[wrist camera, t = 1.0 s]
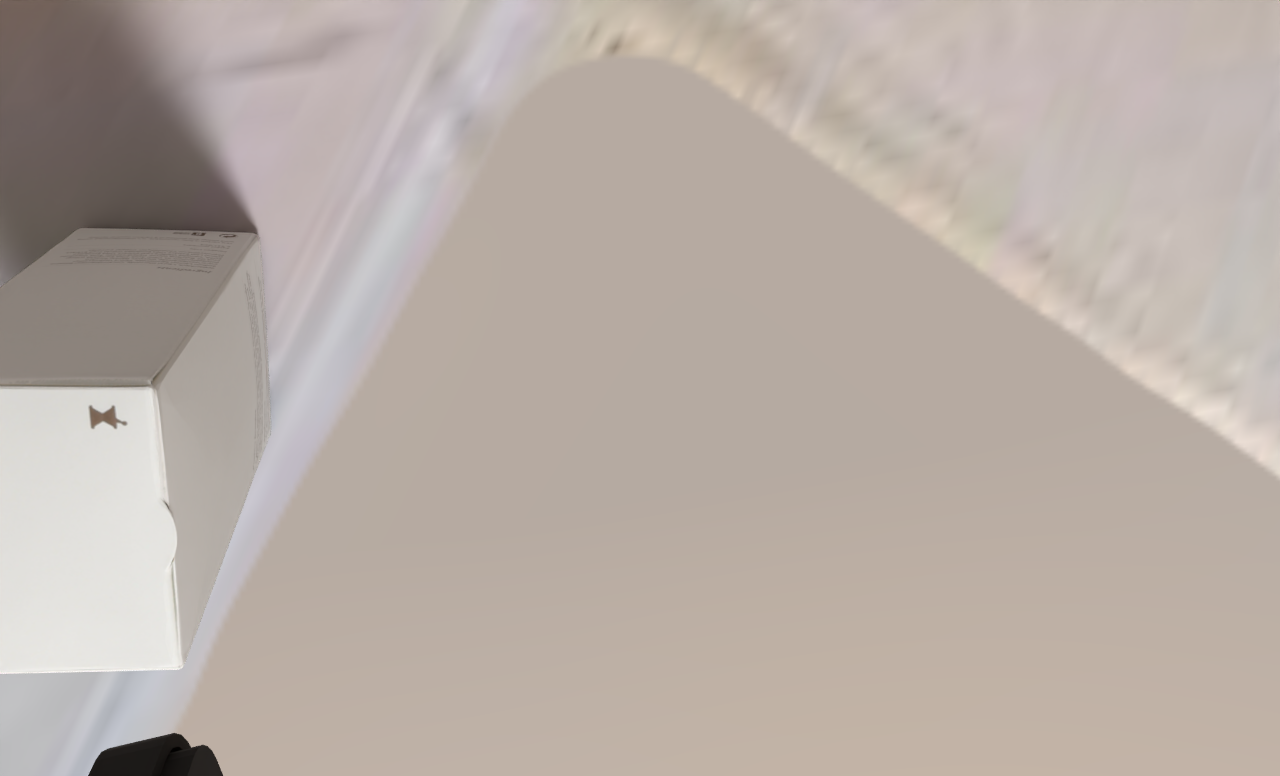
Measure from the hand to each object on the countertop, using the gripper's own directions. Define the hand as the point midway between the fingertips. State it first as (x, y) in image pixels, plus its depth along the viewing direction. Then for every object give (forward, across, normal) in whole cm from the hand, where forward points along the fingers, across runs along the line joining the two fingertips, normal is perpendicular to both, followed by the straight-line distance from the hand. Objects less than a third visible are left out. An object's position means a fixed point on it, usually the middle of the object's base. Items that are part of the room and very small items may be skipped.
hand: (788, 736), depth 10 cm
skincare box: (+34, +15, +4) cm, 37 cm away
